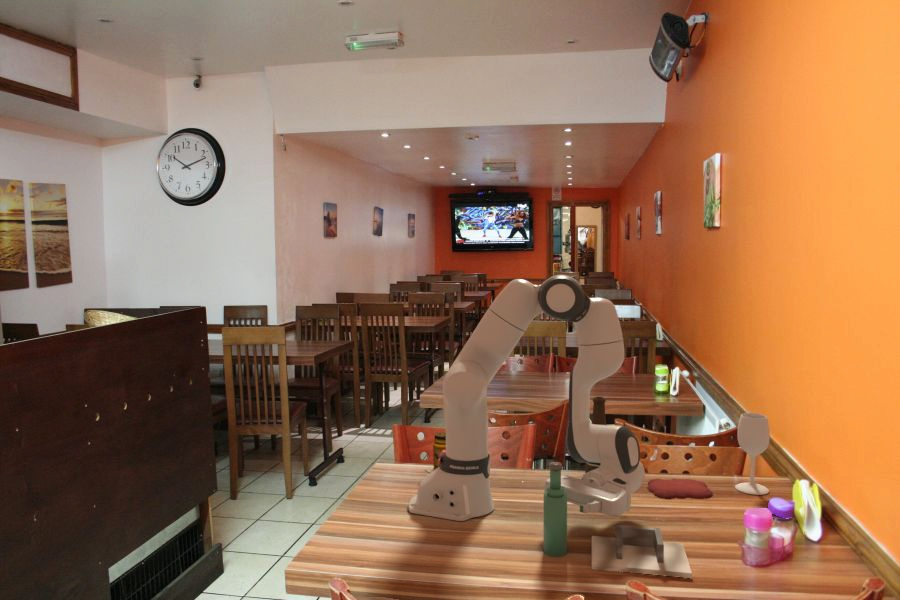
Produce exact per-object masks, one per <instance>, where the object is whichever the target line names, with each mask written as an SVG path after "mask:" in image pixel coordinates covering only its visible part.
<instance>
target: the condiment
mask: <svg viewBox="0 0 900 600" xmlns="http://www.w3.org/2000/svg"><path fill="white" fill-rule="evenodd" d="M433 437H434V442H433V444H432V446H433V448H432V449H433V454H432V457H433V458H432V461H433V463H432V465H433V468H429V469H425V470H424V471H426V472H428V474H430V473H432V472H433V471H434V470H436V469H437V468H438V467H439V465H438V459H439V456H440V453H441V452H442V450H446V432H438V433H435V434H434V436H433Z"/></svg>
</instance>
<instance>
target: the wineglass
mask: <svg viewBox="0 0 900 600" xmlns="http://www.w3.org/2000/svg"><path fill="white" fill-rule="evenodd" d="M770 433H771V432H770V426H769V420H768V417H767V416H766V415H764V414H761V413H755V412H754V413H752V412H748V413H746V412H745V413H741V415H740V417H739V420H738V424H737V434H736V435H737V436H736V437H737V441H738V442H737V443H738V445H739V447H740V448H741V450H742V451H744V452H745V453H746V454H747V455H748V456H749V458H750V459H749V460H750V473H749V480H748V482H740V483H738V484H735V485H734V488H735V489H736V491H739V492H741V493H744V494H746V495H755V496H756V495H757V496H762V495H763V496H764V495H767V494H769V493H770V490H769V489H768V488H767V487H766V486H764V485H761V484H759V483H756V479H755V464H756V457H757V456H759V455H761V454H762V453H764V452H765V451H766V450H768V447H769V444H770V436H771V434H770Z"/></svg>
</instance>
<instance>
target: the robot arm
mask: <svg viewBox="0 0 900 600" xmlns="http://www.w3.org/2000/svg"><path fill="white" fill-rule="evenodd" d="M540 314H546V315H547V316H549V317H550V318H552V319H554V320H558V321H565V322H568V323H569V322H570V323H573V325H574V327H575V331H576V337H577V345H578V347H577V348H578V353H577V354H578V355H577V360H576V362H575V364H573V366H572V367H571V369H570V372H569V381H568V382H569V385H568V421H567V422H568V424H567V425H568V426H567V430H566V437H565V447H566V450H567V452H568V454H569V455H570V456H571V458H572V459H573V460H574V461H575V462H577V463H579V464H581V463H593V462H594V463H601V465H600V467H599V468H596V469H594V470H591V471H589V472H587V473H584V474H583V475H582V476H581V478H577V477H574V476H570V475H567V474H561V486H563V487H564V493H566V494H567V503H570V504H573V505H576V506H578V507H579V512H580V513H582V514H589V513H600V514H604V515H606V516H609V517H619V516H622V515H623V514H625V513H627V512H629V511H631V506H632V494H633V493H635V492H636V491H637V490H639V488H640V487H641V486H642V485H643V483H644V481H645V478H646V471H645V468H644V465H643V463H642V462H641V461H640V459H641V453H640V452H641V451H640V444H639V440H638V438H637V436H636V435H635V433H634V432H633V431H632V429H630V428H629V427H628V426H626V425H615V424H606V425H596V424H592V420H591V419H590V417H591V416H590V409H591V406H590V405H591V402H590V401H591V391H592V388H593V387H594V385H596V383H598V382H599V381H602V380H605V379H607V378H608V377H610V376H611V377H612V375H614V374H616V372H617V371H618V370H619V369H620V368H621V367H622V365H624V361H625V346H624V345H625V343H624V337H623V331H622V326H621V323H620V318H619V314H618V312H617V309H616V305H615V304H614V303H613V302H612V301H611V300H610V299H607V298H604V297H589V296H588V295H587V293H586V292H585V290H584V289H583V287H582V286H581V283H580V282H579V281H578V280H577V279H575V277H573V276H570V275H568V274H562V273H560V274H555V275H552V276H550V277H548V278H547V279H546V280H544V281H542V282H540V283H538V284H533V282H530V281H529V280H527V279H522V278H515V279H512V280H511V281H509V282H508V283H507V284H506V285H505V286H504V288H503V289H502V290H501V291H500V292H499V293H498V295H497V296H496V297H495V298H494V300H493V301H492V303H491V304H490V305H489V307H488V309H487V310H486V311H485V313H484V315H483V317H482V318H481V319H480V321H479V323H478V324H477V326H476V327H475V329H474V330H473V332H472V334H471V335H470V336H469V338H468V340H466V343H465V344H464V345H463V347H462V349H461V350H460V352H459V353H458V355H457V356H456V358H455V360H454V361H453V363H452V364H451V365H450V368H449V369H448V371H447V372H446V374H445V375H444V377H443V381H442V397H443V398H442V399H443V413H444V421H445V422H444V423H445V433H446V450H442V452H441V453H440V456H439V459H438V465H439V467H438V468H437V469H436V470H434V471H433V472H432V473H428V474H427V475H426V476H425V477H424V478H423V479H422V480H421V481H420V484H419V485H418V489H417V493H416V494H415V495H413V496H412V498H410V500H409V502H408V511H409V512H410V513H411V514H416V515H422V516H427V517H434V518H440V519H444V520H451V521H457V522H464V521H467V520H470V519H472V518H477V517H482V516H486V515H488V514H490V513H491V512H493V510H494V509H495V503H494V500H493V496H492V490H491V484H490V475H491V458H490V453H489V423H488V403H487V402H488V401H487V400H488V399H487V392H488V387H489V385H490V383H491V381H492V380H493V379H494V377H495V376H496V374H497V372H499V370H500V369H501V367H502V366H503V364H505V362H506V361H507V359H508V358H509V357H510V355H511V353H512V352H513V350H514V349H515V347H516V346H517V344H518V343H519V341H520V339H521V338H522V337H523V335H524V334H525V332H526V331H527V330H528V327H529V326H530V325H531V323H532V321H533V320H534V319H535V318H536V317H537V316H539V315H540ZM549 485H550V477H548V478H546V479H545V480H544V483H543V491H544V493H545V492H547V486H549Z"/></svg>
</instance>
